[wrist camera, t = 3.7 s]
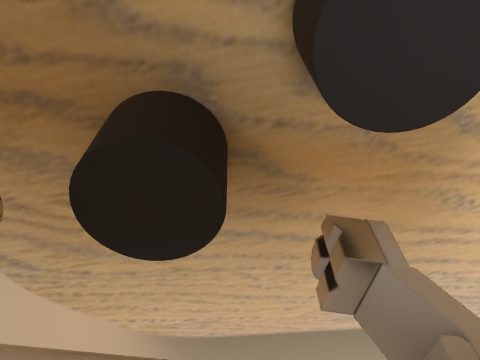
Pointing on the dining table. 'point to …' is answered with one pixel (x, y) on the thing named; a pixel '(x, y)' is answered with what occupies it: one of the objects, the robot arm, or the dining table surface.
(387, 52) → the eye dot right
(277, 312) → the dining table surface
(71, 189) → the eye dot left
